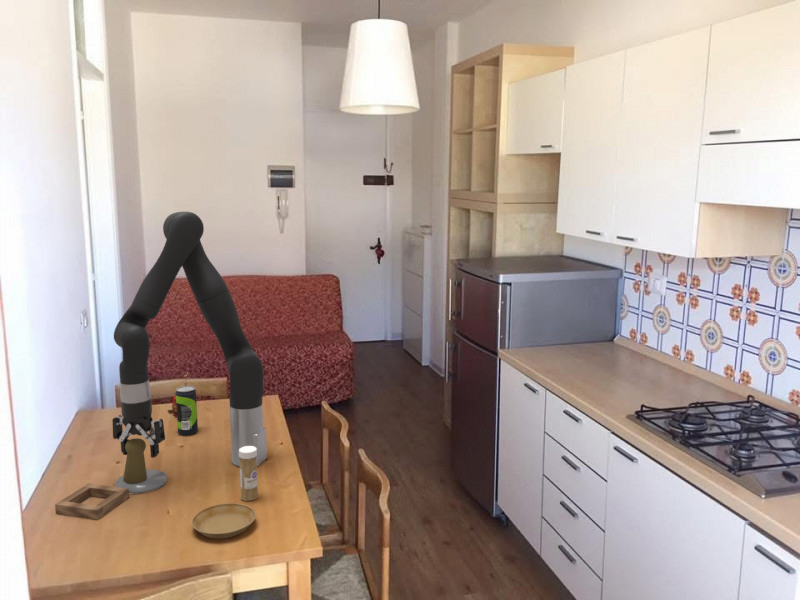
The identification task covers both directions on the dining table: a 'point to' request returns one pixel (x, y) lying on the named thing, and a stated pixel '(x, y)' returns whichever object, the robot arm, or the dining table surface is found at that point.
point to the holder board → (75, 508)
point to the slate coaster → (144, 482)
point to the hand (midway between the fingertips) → (140, 455)
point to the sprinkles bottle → (248, 473)
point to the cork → (135, 461)
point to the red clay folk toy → (175, 400)
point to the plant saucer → (223, 520)
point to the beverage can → (186, 410)
